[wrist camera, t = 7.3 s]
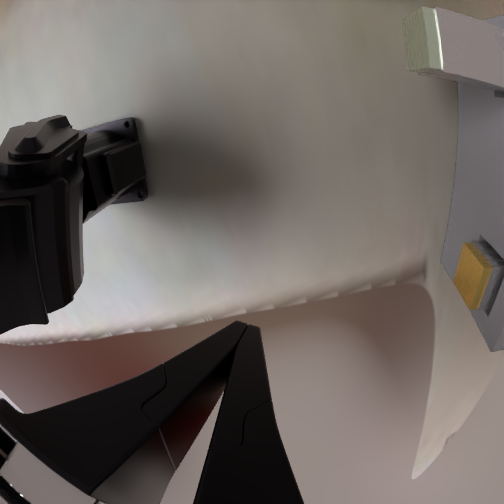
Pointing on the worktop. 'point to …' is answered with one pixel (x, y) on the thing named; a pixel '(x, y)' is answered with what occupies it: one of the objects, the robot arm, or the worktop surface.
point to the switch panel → (479, 190)
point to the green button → (454, 48)
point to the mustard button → (479, 275)
